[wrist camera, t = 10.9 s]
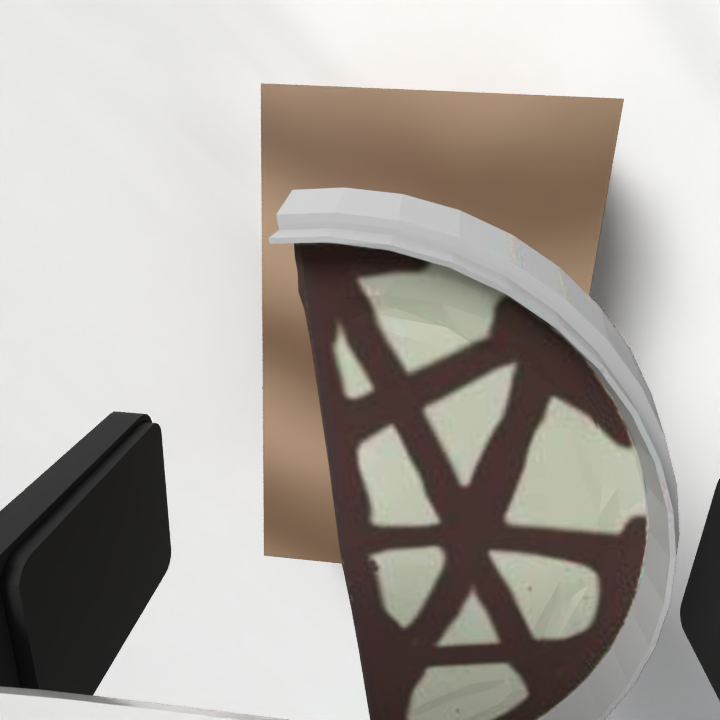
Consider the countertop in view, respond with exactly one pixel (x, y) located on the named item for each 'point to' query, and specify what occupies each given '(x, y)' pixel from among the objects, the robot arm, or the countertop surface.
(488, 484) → the food container
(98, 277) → the countertop surface
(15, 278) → the countertop surface
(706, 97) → the countertop surface
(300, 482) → the bridge shelf
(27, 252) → the countertop surface
